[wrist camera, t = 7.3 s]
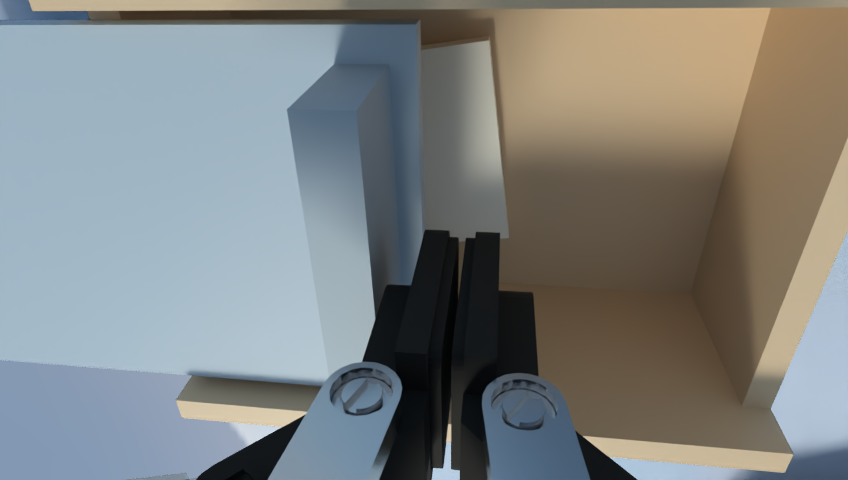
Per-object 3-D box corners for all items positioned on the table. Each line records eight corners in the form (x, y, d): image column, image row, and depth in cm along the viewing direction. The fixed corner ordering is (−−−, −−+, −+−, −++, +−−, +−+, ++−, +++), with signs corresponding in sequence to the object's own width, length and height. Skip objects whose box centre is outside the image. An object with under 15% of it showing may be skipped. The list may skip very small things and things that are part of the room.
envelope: (355, 54, 18) (349, 60, 18) (489, 35, 17) (488, 40, 17) (395, 236, 22) (392, 246, 21) (508, 228, 21) (508, 238, 20)
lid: (-277, 20, 14) (-495, 55, 11) (419, 18, 12) (388, 61, 9) (-70, 341, 19) (-177, 423, 16) (429, 379, 17) (413, 482, 14)
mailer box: (203, -60, 18) (16, -32, 11) (811, -73, 16) (1042, -48, 9) (271, 274, 25) (182, 417, 18) (701, 298, 22) (784, 472, 16)
